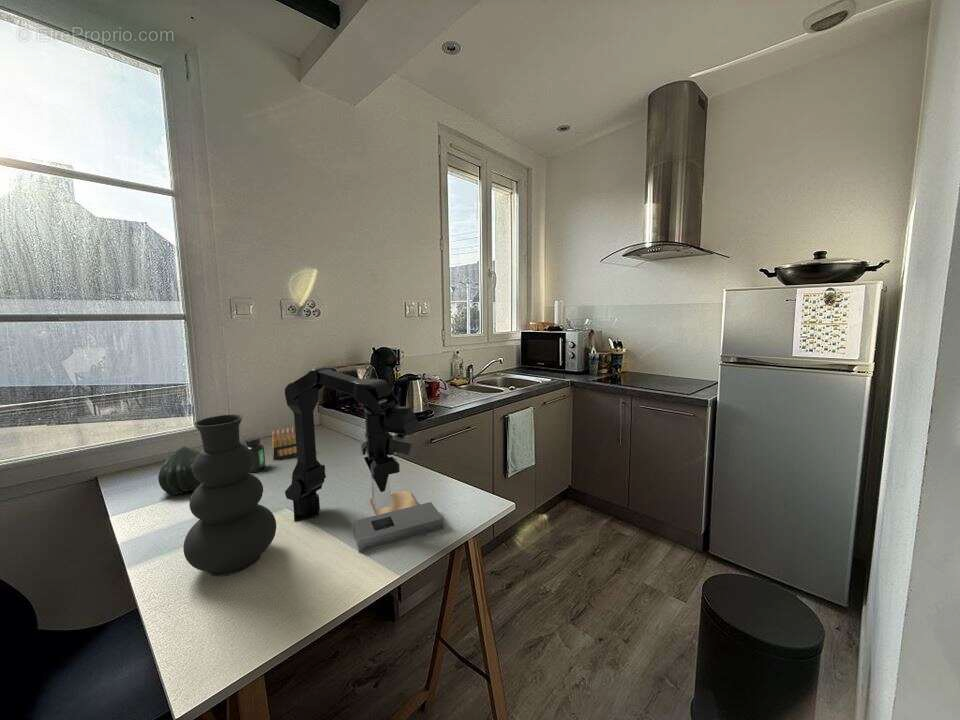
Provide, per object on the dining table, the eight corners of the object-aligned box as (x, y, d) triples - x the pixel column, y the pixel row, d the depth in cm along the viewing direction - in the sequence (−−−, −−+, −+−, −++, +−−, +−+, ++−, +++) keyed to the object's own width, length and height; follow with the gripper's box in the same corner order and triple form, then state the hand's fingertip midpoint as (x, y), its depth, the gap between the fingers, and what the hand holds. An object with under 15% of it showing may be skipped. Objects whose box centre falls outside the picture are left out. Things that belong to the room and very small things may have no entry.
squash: (187, 487, 120) (204, 441, 128) (139, 489, 120) (159, 443, 128) (215, 498, 132) (228, 456, 140) (171, 501, 132) (187, 458, 140)
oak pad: (378, 521, 109) (377, 517, 108) (370, 502, 119) (370, 498, 119) (419, 510, 114) (419, 506, 114) (408, 493, 125) (408, 489, 124)
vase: (291, 559, 93) (278, 417, 88) (199, 603, 79) (177, 439, 75) (262, 530, 105) (249, 405, 100) (178, 565, 92) (159, 421, 87)
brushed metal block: (375, 509, 99) (373, 480, 97) (372, 502, 102) (370, 474, 101) (391, 506, 100) (389, 476, 99) (387, 499, 104) (386, 470, 103)
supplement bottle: (268, 469, 146) (265, 438, 144) (247, 474, 141) (244, 443, 139) (262, 464, 151) (259, 434, 149) (242, 469, 146) (239, 438, 144)
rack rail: (359, 552, 95) (358, 541, 95) (353, 531, 104) (352, 521, 103) (443, 528, 104) (443, 518, 104) (431, 511, 113) (430, 501, 113)
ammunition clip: (273, 460, 154) (270, 431, 152) (273, 459, 155) (270, 430, 154) (302, 454, 160) (300, 426, 158) (302, 453, 161) (299, 425, 160)
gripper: (419, 435, 94) (421, 496, 96) (399, 416, 110) (402, 468, 112) (372, 443, 89) (375, 507, 91) (359, 422, 105) (362, 476, 108)
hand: (380, 488), depth 101 cm, fingers closed on brushed metal block, 4 cm apart
